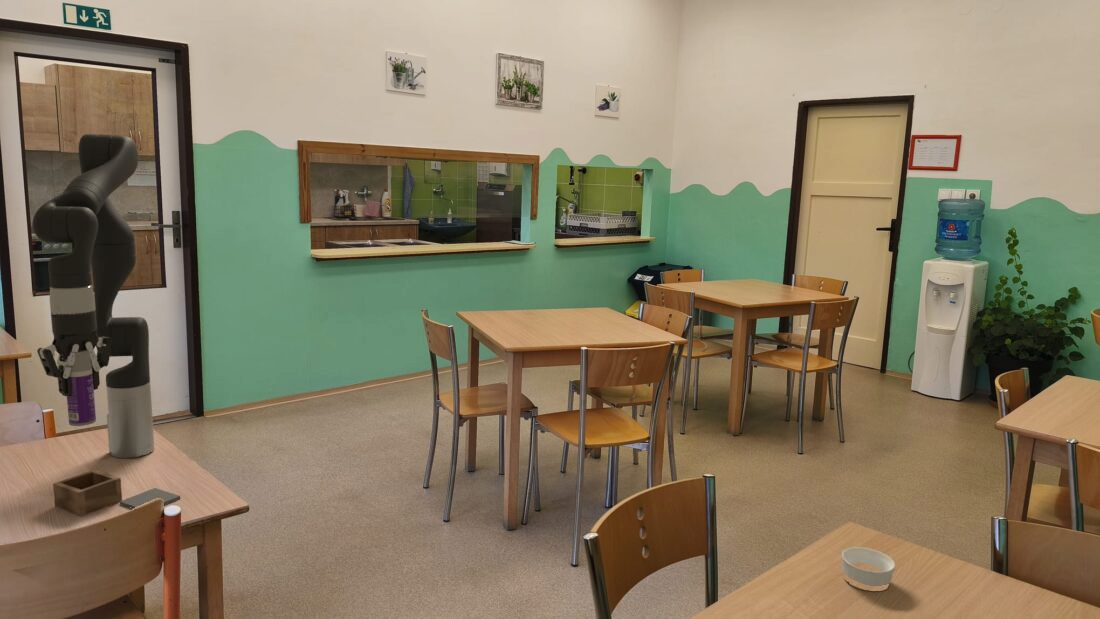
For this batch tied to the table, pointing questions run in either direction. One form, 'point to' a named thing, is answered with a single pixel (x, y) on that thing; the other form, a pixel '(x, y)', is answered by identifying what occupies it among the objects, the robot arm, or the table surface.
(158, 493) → the mat
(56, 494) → the holder
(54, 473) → the table surface
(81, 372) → the container
